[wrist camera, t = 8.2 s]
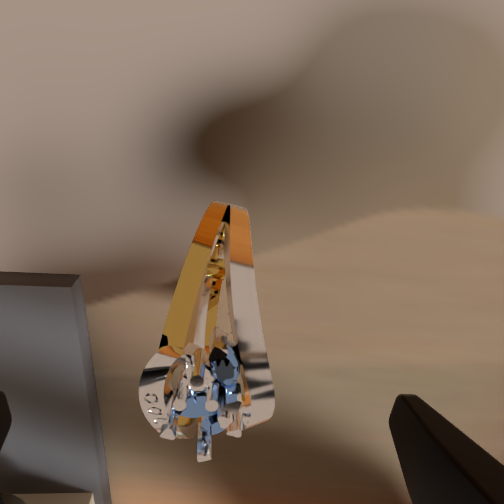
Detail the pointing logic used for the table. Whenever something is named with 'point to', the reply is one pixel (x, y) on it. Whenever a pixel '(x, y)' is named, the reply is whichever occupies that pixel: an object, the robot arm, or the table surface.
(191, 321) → the ring
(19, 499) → the shaft
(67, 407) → the block
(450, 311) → the table surface
